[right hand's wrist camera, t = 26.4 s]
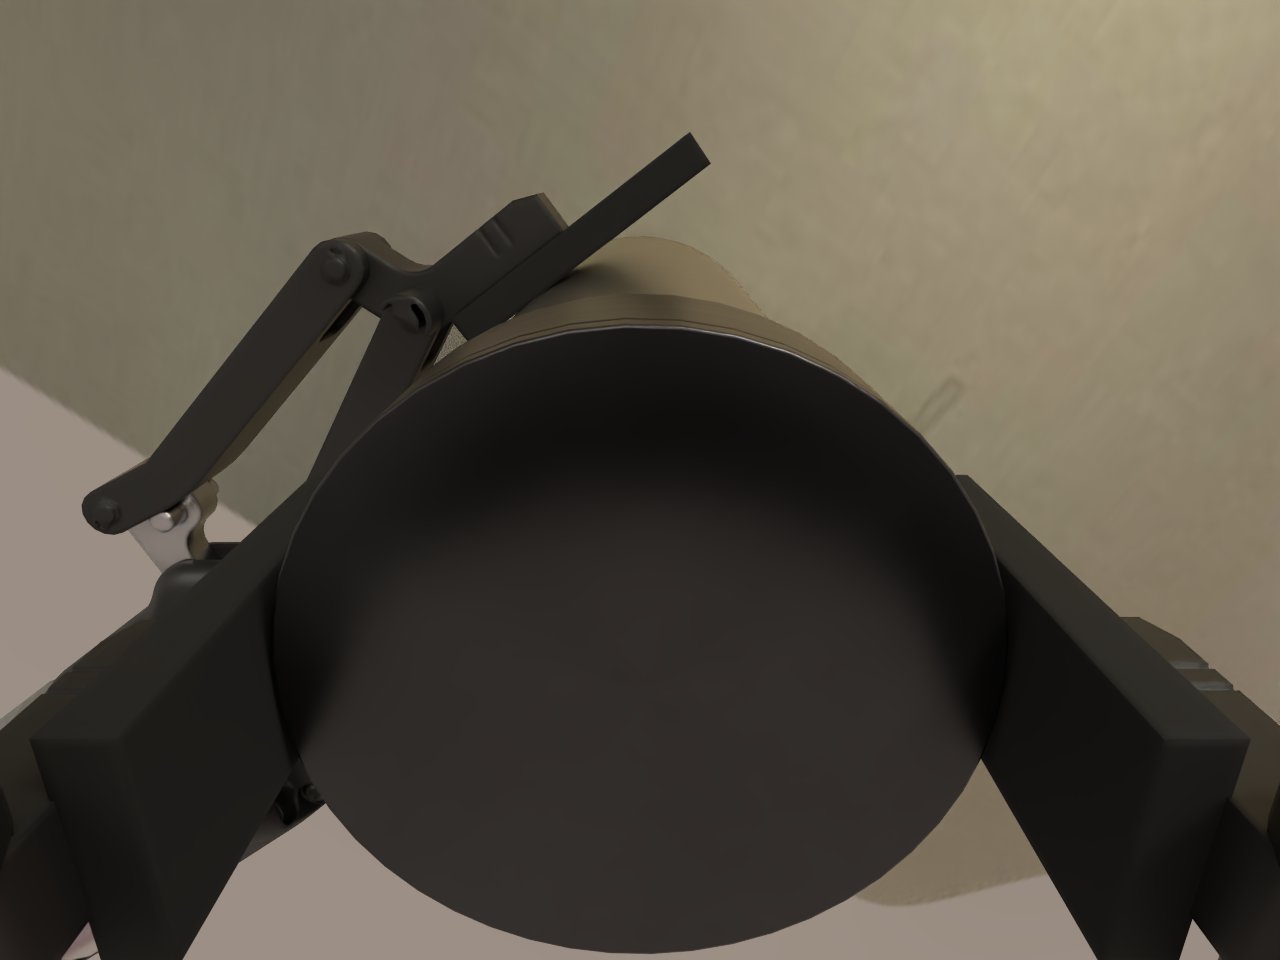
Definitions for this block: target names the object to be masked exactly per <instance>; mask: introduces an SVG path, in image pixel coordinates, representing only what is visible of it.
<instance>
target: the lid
mask: <svg viewBox="0 0 1280 960" xmlns="http://www.w3.org/2000/svg"><path fill="white" fill-rule="evenodd" d="M1007 652H1008V625H1007V613H1006V602H1005V592H1004V588H1003V584H1002V580H1001V576H1000V572H999V568H998V564H997V560H996V556H995V552H994V550H993V547H992V545H991V543H990V540H989V538H988V536H987V533H986V531H985V528H984V526H983V524H982V521H981V519H980V517H979V514H978V512H977V510H976V508H975V507H974V505H973V503H972V502H971V500H970V499H969V497H968V495H967V494H966V492H965V491H964V489H963V487H962V486H961V484H960V483H959V481H958V479H957V478H956V476H955V475H954V473H953V471H952V470H951V469H950V468H949V466H948V465H947V464H946V463H945V462H944V461H943V459H942V458H941V457H940V456H939V455H938V454H937V453H936V451H935V450H934V449H933V448H932V447H931V446H930V444H929V443H928V442H927V441H926V440H925V439H924V437H923V436H922V435H921V434H920V433H919V432H918V431H917V430H916V429H915V428H914V427H913V426H911V425H910V424H909V423H908V422H907V421H906V420H905V419H904V418H903V417H902V416H901V415H900V414H899V413H898V412H897V411H896V410H895V409H894V408H893V407H891V406H890V405H889V404H888V403H887V402H886V401H885V400H884V399H883V398H882V397H881V396H880V395H879V394H878V393H877V392H876V391H874V390H873V389H872V388H871V387H870V386H869V385H868V384H867V383H866V382H865V381H863V380H862V379H861V378H860V377H859V376H858V375H857V374H855V373H854V372H853V371H852V370H851V369H850V368H848V367H847V366H846V365H845V364H844V363H843V362H842V361H840V360H839V359H838V358H837V357H836V356H834V355H832V354H831V353H829V352H828V351H826V350H825V349H823V348H822V347H820V346H818V345H817V344H815V343H814V342H812V341H811V340H809V339H808V338H806V337H805V336H803V335H801V334H800V333H797V332H795V331H793V330H791V329H789V328H787V327H785V326H782V325H780V324H778V323H776V322H774V321H772V320H769V319H767V318H765V317H763V316H761V315H758V314H754V313H751V312H748V311H745V310H741V309H738V308H735V307H732V306H728V305H725V304H722V303H718V302H713V301H707V300H701V299H695V298H689V297H683V296H677V295H659V294H618V295H609V296H599V297H589V298H581V299H577V300H573V301H569V302H565V303H560V304H556V305H552V306H548V307H544V308H540V309H537V310H534V311H532V312H529V313H526V314H524V315H521V316H519V317H516V318H514V319H511V320H509V321H506V322H503V323H501V324H498V325H496V326H494V327H493V328H491V329H489V330H487V331H485V332H484V333H482V334H480V335H478V336H476V337H475V338H473V339H471V340H469V341H468V342H466V343H464V344H462V345H460V346H459V347H457V348H456V349H455V350H454V351H452V352H451V353H450V354H448V355H447V356H446V357H444V358H443V359H442V360H440V361H439V362H438V363H436V364H435V365H434V366H432V367H431V368H430V369H428V370H427V371H426V372H425V373H424V374H423V375H422V376H421V377H419V378H418V379H417V380H416V381H415V382H414V383H413V384H412V385H411V386H410V387H409V388H408V389H407V390H406V391H405V392H404V393H402V394H401V395H400V396H399V397H398V398H397V399H396V400H395V401H394V402H393V403H392V404H391V405H390V406H389V407H388V408H387V409H386V410H385V411H383V412H382V413H381V414H380V415H379V416H378V417H377V418H376V419H375V420H374V421H373V422H372V423H371V424H370V425H369V426H368V427H367V428H366V429H365V430H364V431H363V432H362V433H361V434H360V435H359V436H358V437H357V438H356V439H355V440H354V441H353V442H352V443H351V444H350V445H349V446H348V447H347V448H346V449H345V450H344V452H343V453H342V454H341V455H340V456H339V458H338V459H337V460H336V462H335V463H334V465H333V466H332V467H331V469H330V470H329V471H328V473H327V474H326V476H325V477H324V478H323V480H322V481H321V483H320V484H319V485H318V487H317V488H316V489H315V491H314V492H313V494H312V496H311V498H310V500H309V502H308V504H307V506H306V508H305V510H304V512H303V514H302V516H301V518H300V520H299V522H298V524H297V526H296V527H295V529H294V531H293V534H292V537H291V540H290V543H289V546H288V549H287V552H286V555H285V558H284V561H283V564H282V567H281V570H280V574H279V579H278V585H277V591H276V598H275V604H274V610H273V616H272V661H273V667H274V674H275V680H276V687H277V693H278V700H279V703H280V707H281V710H282V713H283V716H284V720H285V723H286V726H287V729H288V732H289V736H290V739H291V741H292V743H293V745H294V747H295V750H296V752H297V754H298V756H299V758H300V760H301V762H302V764H303V766H304V769H305V771H306V773H307V775H308V777H309V778H310V780H311V781H312V783H313V784H314V786H315V787H316V789H317V790H318V792H319V793H320V795H321V796H322V798H323V800H324V801H325V803H326V804H327V806H328V807H329V809H330V810H331V811H332V812H333V813H334V815H335V816H336V817H337V818H338V819H339V821H340V822H341V823H342V824H343V825H344V826H345V828H346V829H347V830H348V831H349V832H350V833H351V835H352V836H353V837H354V838H355V839H356V840H357V841H358V842H359V843H360V844H361V845H362V846H363V847H364V848H365V849H367V850H368V851H369V852H370V853H371V854H372V855H373V856H374V857H375V858H376V859H377V860H379V861H380V862H381V863H382V864H383V865H384V866H385V867H386V868H388V869H389V870H391V871H392V872H393V873H395V874H396V875H398V876H399V877H400V878H401V879H403V880H404V881H406V882H407V883H408V884H410V885H411V886H413V887H414V888H415V889H417V890H418V891H420V892H422V893H423V894H425V895H427V896H429V897H430V898H432V899H434V900H436V901H437V902H439V903H441V904H443V905H444V906H446V907H448V908H450V909H451V910H453V911H455V912H458V913H460V914H462V915H464V916H467V917H469V918H471V919H473V920H476V921H478V922H480V923H483V924H485V925H487V926H489V927H492V928H495V929H498V930H501V931H505V932H508V933H511V934H514V935H517V936H520V937H523V938H527V939H529V940H534V941H539V942H544V943H548V944H552V945H557V946H562V947H566V948H572V949H580V950H589V951H598V952H606V953H634V954H656V953H670V952H684V951H694V950H700V949H706V948H712V947H718V946H724V945H729V944H734V943H738V942H742V941H745V940H749V939H752V938H756V937H760V936H763V935H767V934H771V933H774V932H776V931H779V930H781V929H784V928H787V927H789V926H792V925H794V924H797V923H800V922H802V921H805V920H808V919H810V918H812V917H814V916H816V915H818V914H820V913H822V912H824V911H826V910H828V909H830V908H832V907H834V906H836V905H838V904H840V903H842V902H844V901H846V900H847V899H849V898H850V897H852V896H853V895H855V894H856V893H858V892H860V891H861V890H863V889H864V888H866V887H867V886H869V885H870V884H872V883H873V882H875V881H876V880H878V879H879V878H881V877H882V876H883V875H884V874H886V873H887V872H888V871H889V870H891V869H892V868H893V867H894V866H895V865H897V864H898V863H899V862H900V861H901V860H903V859H904V858H905V857H906V856H908V855H909V854H910V853H911V852H912V851H913V850H914V849H915V848H916V847H917V846H918V845H919V844H920V843H921V842H922V841H923V840H924V839H925V837H926V836H927V835H928V834H929V833H930V832H931V831H932V830H933V829H934V828H935V827H936V826H937V825H938V824H939V823H940V821H941V820H942V819H943V817H944V816H945V815H946V813H947V812H948V811H949V809H950V808H951V806H952V805H953V804H954V802H955V801H956V800H957V798H958V797H959V796H960V794H961V793H962V792H963V790H964V788H965V786H966V785H967V783H968V781H969V779H970V777H971V776H972V774H973V772H974V770H975V768H976V766H977V765H978V763H979V761H980V759H981V757H982V755H983V753H984V750H985V748H986V745H987V742H988V740H989V737H990V735H991V732H992V729H993V727H994V724H995V722H996V719H997V715H998V710H999V706H1000V702H1001V697H1002V693H1003V688H1004V684H1005V679H1006V666H1007Z"/></svg>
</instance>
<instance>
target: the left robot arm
mask: <svg viewBox="0 0 1280 960" xmlns="http://www.w3.org/2000/svg"><path fill="white" fill-rule="evenodd" d="M710 164H711V163H710V162H709V160H708V159H707V157H706V156H705V154H704V153H703V151H702V150H701V148H700V147H699V145H698V143H697V142H696V140H695V139H694V137H693V136H692V134H691V133H690V132H689V133H688V134H687V135H685V136H684V137H683V138H682V139H680V140H679V141H678V142H676V143H675V144H674V145H673V146H671V147H670V148H669V149H667V150H666V151H665V152H664V153H662V154H661V155H660V156H659V157H657V158H656V159H655V160H653V161H652V162H651V163H650V164H648V165H647V166H646V167H645V168H643V169H642V170H641V171H639V172H638V173H637V174H636V175H634V176H633V177H632V178H631V179H629V180H628V181H627V182H625V183H624V184H623V185H622V186H620V187H619V188H618V189H616V190H615V191H614V192H613V193H611V194H610V195H609V196H608V197H606V198H605V199H604V200H602V201H601V202H600V203H599V204H597V205H596V206H595V207H594V208H592V209H591V210H590V211H588V212H587V213H586V214H585V215H583V216H582V217H581V218H580V219H578V220H577V221H576V222H574V223H573V224H572V225H571V226H568V225H567V224H566V222H565V221H564V220H563V218H562V217H561V216H560V214H559V213H558V211H557V210H556V209H555V207H554V206H553V205H552V203H551V202H550V200H549V199H548V198H547V196H546V195H545V194H544V193H540V194H536V195H532V196H528V197H525V198H521V199H518V200H514V201H512V202H511V203H510V204H508V205H507V206H506V207H505V208H503V209H502V210H501V211H500V212H499V213H497V214H496V215H495V216H494V217H493V218H491V219H490V220H489V221H487V222H486V223H485V224H484V225H482V226H481V227H480V228H479V229H478V230H476V231H475V232H474V233H473V234H471V235H470V236H469V237H468V238H466V239H465V240H464V241H463V242H461V243H460V244H459V245H458V246H456V247H455V248H454V249H453V250H451V251H450V252H449V253H448V254H447V255H445V256H444V257H443V258H442V259H440V260H439V261H438V262H437V263H435V264H434V265H422V264H417V263H415V262H413V261H411V260H409V259H407V258H406V257H404V256H403V255H401V254H400V253H398V252H397V251H395V250H393V249H392V248H391V246H390V245H389V244H388V242H387V241H386V240H385V239H384V238H383V237H381V236H380V235H378V234H376V233H372V232H362V233H357V234H352V235H347V236H343V237H338V238H334V239H331V240H327V241H323V242H321V243H319V244H318V245H317V246H316V247H314V248H313V249H312V251H311V252H310V253H309V255H308V256H307V257H306V258H305V260H304V261H303V262H302V264H301V265H300V266H299V267H298V269H297V270H296V271H295V273H294V274H293V275H292V276H291V278H290V279H289V280H288V282H287V283H286V284H285V285H284V287H283V288H282V289H281V290H280V292H279V293H278V294H277V296H276V297H275V298H274V299H273V301H272V302H271V303H270V305H269V306H268V307H267V308H266V310H265V311H264V312H263V314H262V315H261V316H260V317H259V319H258V320H257V321H256V323H255V324H254V325H253V326H252V328H251V329H250V330H249V331H248V333H247V334H246V335H245V337H244V338H243V339H242V340H241V342H240V343H239V344H238V346H237V347H236V348H235V349H234V351H233V352H232V353H231V355H230V356H229V357H228V358H227V360H226V361H225V362H224V364H223V365H222V366H221V367H220V369H219V370H218V371H217V372H216V374H215V375H214V376H213V378H212V379H211V380H210V381H209V383H208V384H207V385H206V387H205V388H204V389H203V390H202V392H201V393H200V394H199V396H198V397H197V398H196V399H195V401H194V402H193V403H192V405H191V406H190V407H189V408H188V410H187V411H186V412H185V413H184V415H183V416H182V417H181V419H180V420H179V421H178V422H177V424H176V425H175V426H174V428H173V429H172V430H171V431H170V433H169V434H168V435H167V437H166V438H165V439H164V440H163V442H162V443H161V444H160V446H159V447H158V448H157V449H156V451H155V452H154V453H153V454H152V456H151V457H150V458H148V459H146V460H144V461H143V462H141V463H139V464H138V465H136V466H134V467H133V468H131V469H129V470H127V471H126V472H124V473H122V474H121V475H119V476H117V477H116V478H114V479H112V480H111V481H109V482H107V483H105V484H104V485H102V486H100V487H99V488H97V489H95V490H93V491H92V492H90V493H89V494H88V495H87V496H86V497H85V498H84V500H83V503H82V512H83V515H84V517H85V519H86V521H87V522H88V523H89V524H90V525H91V526H92V527H93V528H94V529H95V530H98V531H100V532H102V533H104V534H112V535H115V534H119V533H123V532H125V531H127V530H129V532H130V533H131V534H132V536H133V537H134V538H135V539H136V541H137V542H138V543H139V544H140V546H141V547H142V548H143V549H144V551H145V552H146V553H147V555H148V556H149V557H150V558H151V560H152V561H153V562H154V563H155V565H156V566H157V567H158V568H159V570H160V571H161V572H162V575H161V576H160V577H159V579H158V581H157V583H156V585H155V588H154V592H153V596H152V599H151V602H150V604H149V606H148V607H146V608H145V609H144V610H142V611H141V612H140V613H139V614H137V615H136V616H135V617H133V618H132V619H131V620H129V621H128V622H127V623H126V624H124V625H123V626H122V627H120V628H119V629H118V630H116V631H115V632H114V633H113V634H111V635H110V636H109V637H111V636H113V635H115V634H116V633H118V632H120V631H122V630H124V629H126V628H128V627H130V626H131V625H133V624H135V623H137V622H139V621H141V620H158V619H159V618H160V617H161V616H162V615H163V614H164V613H165V612H166V611H167V610H168V609H169V608H170V607H171V606H173V605H174V604H175V603H176V602H177V601H178V600H179V599H180V598H181V597H182V596H183V595H184V594H185V593H186V592H188V591H189V590H190V589H191V588H192V587H193V586H194V585H195V584H196V583H197V582H198V581H199V580H200V579H201V578H203V577H204V576H205V575H206V574H207V573H208V572H209V571H210V570H211V569H212V568H213V567H214V566H215V565H217V564H218V563H219V562H220V561H221V560H222V559H223V558H224V557H225V556H226V555H227V554H228V553H229V552H230V551H232V550H233V549H234V548H235V547H236V546H237V545H238V544H239V543H240V542H211V543H209V542H208V541H207V539H206V537H205V534H204V523H205V521H206V519H207V518H208V517H209V516H210V515H211V514H212V513H213V512H214V511H215V509H216V507H217V496H216V495H217V494H218V490H219V487H218V485H217V483H216V482H215V481H214V480H212V479H211V478H213V477H214V476H215V475H217V474H218V473H220V472H221V471H222V470H224V469H225V468H226V467H227V466H229V465H230V464H231V463H232V462H234V461H235V460H236V459H237V458H238V457H239V455H240V454H241V453H242V452H243V451H244V450H245V449H246V448H247V447H248V445H249V444H250V443H251V442H252V441H253V439H254V438H255V437H256V436H257V434H258V433H259V432H260V431H261V430H262V428H263V427H264V426H265V425H266V424H267V422H268V421H269V420H270V419H271V417H272V416H273V415H274V414H275V413H276V411H277V410H278V409H279V408H280V406H281V405H282V404H283V403H284V402H285V400H286V399H287V398H288V397H289V396H290V394H291V393H292V392H293V391H294V389H295V388H296V387H297V386H298V385H299V383H300V382H301V381H302V380H303V378H304V377H305V376H306V375H307V374H308V372H309V371H310V370H311V369H312V368H313V366H314V365H315V364H316V363H317V361H318V360H319V359H320V358H321V357H322V355H323V354H324V353H325V352H326V350H327V349H328V348H329V347H330V346H331V344H332V343H333V342H334V341H335V340H336V338H337V337H338V336H339V335H340V333H341V332H342V331H343V330H344V329H345V327H346V326H347V325H348V324H349V322H350V321H351V320H352V319H353V318H354V316H355V315H356V314H357V313H358V312H359V310H360V309H361V308H362V307H363V308H365V309H366V310H368V311H370V312H371V313H373V314H374V315H376V316H378V317H379V318H381V319H380V322H379V324H378V326H377V328H376V330H375V333H374V335H373V337H372V339H371V341H370V343H369V346H368V348H367V350H366V352H365V354H364V357H363V359H362V361H361V363H360V365H359V368H358V370H357V372H356V374H355V376H354V378H353V381H352V383H351V385H350V387H349V389H348V392H347V394H346V396H345V398H344V400H343V402H342V405H341V407H340V409H339V411H338V413H337V416H336V418H335V420H334V422H333V424H332V427H331V429H330V431H329V433H328V435H327V437H326V440H325V442H324V444H323V446H322V448H321V451H320V453H319V455H318V457H317V459H316V461H315V464H314V466H313V468H312V470H311V472H310V475H309V477H308V479H309V478H310V477H311V476H312V475H326V474H327V473H328V471H329V470H330V469H331V467H332V466H333V465H334V463H335V462H336V460H337V459H338V458H339V456H340V455H341V454H342V453H343V452H344V450H345V449H346V448H347V447H348V446H349V445H350V444H351V443H352V442H353V441H354V440H355V439H356V438H357V437H358V436H359V435H360V434H361V433H362V432H363V431H364V430H365V429H366V428H367V427H368V426H369V425H370V424H371V423H372V422H373V421H374V420H375V419H376V418H377V417H378V416H379V415H380V414H381V413H382V412H383V411H385V410H386V409H387V408H388V407H389V406H390V405H391V404H392V403H393V402H394V401H395V400H396V399H397V398H398V397H399V396H400V395H401V394H402V393H404V392H405V391H406V390H407V389H408V388H409V387H410V386H411V385H412V384H413V383H414V382H415V381H416V380H417V379H418V378H419V377H421V376H422V375H423V374H424V373H425V372H426V371H427V370H428V369H430V368H431V367H432V366H433V365H434V363H435V361H436V359H437V357H438V355H439V353H440V351H441V349H442V347H443V345H444V343H445V340H446V338H447V336H448V334H449V332H450V330H451V328H452V326H453V324H454V325H455V326H456V327H457V329H458V330H459V331H460V332H461V334H462V335H463V336H464V337H465V339H466V340H467V341H469V340H471V339H473V338H475V337H476V336H478V335H480V334H482V333H484V332H485V331H487V330H489V329H491V328H493V327H494V326H496V325H498V324H501V323H503V322H505V321H507V320H508V319H509V318H511V317H512V316H513V315H515V314H516V313H517V312H518V311H520V310H521V309H522V308H524V307H525V306H526V305H528V304H529V303H530V302H531V301H532V300H534V299H535V298H537V297H538V296H539V295H541V294H542V293H543V292H544V291H546V290H547V289H548V288H550V287H551V286H552V285H554V284H555V283H556V282H557V281H559V280H560V279H561V278H563V277H564V276H565V275H567V274H568V273H569V272H570V271H572V270H573V269H574V268H576V267H577V266H578V265H580V264H581V263H582V262H583V261H585V260H586V259H587V258H589V257H590V256H591V255H593V254H594V253H595V252H596V251H598V250H599V249H600V248H602V247H603V246H604V245H606V244H607V243H608V242H609V241H611V240H612V239H613V238H615V237H616V236H617V235H619V234H620V233H621V232H622V231H624V230H625V229H626V228H628V227H629V226H630V225H632V224H633V223H634V222H635V221H637V220H638V219H639V218H641V217H642V216H643V215H645V214H646V213H647V212H648V211H650V210H651V209H652V208H654V207H655V206H656V205H658V204H659V203H660V202H661V201H663V200H664V199H665V198H667V197H668V196H669V195H671V194H672V193H673V192H674V191H676V190H677V189H678V188H680V187H681V186H682V185H684V184H685V183H686V182H687V181H689V180H690V179H691V178H693V177H694V176H695V175H697V174H698V173H699V172H700V171H702V170H703V169H704V168H706V167H707V166H708V165H710ZM308 479H307V480H308ZM109 637H107V638H109ZM107 638H106V639H107ZM94 648H95V647H94ZM90 651H91V650H90ZM90 651H89V652H90ZM89 652H88V653H89ZM88 653H87V654H88ZM87 654H85V655H87ZM85 655H84V656H85ZM84 656H83V657H84ZM83 657H81V658H80V659H79V660H77V661H76V662H75V663H74V664H72V665H71V666H70V667H68V668H67V669H66V670H64V671H63V672H62V673H61V674H60V675H59V676H58V677H57V678H56V679H55V680H53V681H51V682H49V683H48V684H46V685H45V686H44V687H42V688H41V689H40V690H38V691H37V692H36V693H35V694H33V695H32V696H31V697H29V698H28V699H27V700H25V701H24V702H23V703H21V704H20V705H19V706H17V707H16V708H15V709H13V710H12V711H11V712H10V713H8V714H7V715H6V716H4V717H3V718H2V719H0V730H1V729H2V728H3V727H4V726H6V725H7V724H8V723H9V722H10V721H11V720H12V719H14V718H15V717H16V716H17V715H18V714H19V713H20V712H21V711H23V710H24V709H25V708H26V707H27V706H28V705H29V704H31V703H32V702H33V701H34V700H35V699H36V698H37V697H39V696H40V695H41V694H47V693H48V688H49V687H50V686H51V685H52V684H53V683H55V682H56V681H57V680H58V679H59V678H60V677H61V676H63V675H64V674H65V673H66V672H72V669H73V668H72V667H73V666H74V665H75V664H76V663H77V662H79V661H80V660H81V659H82V658H83ZM324 804H325V801H324V800H323V798H322V796H321V795H320V793H319V792H318V790H317V789H316V787H315V786H314V784H313V783H312V781H311V780H310V778H309V777H308V775H307V773H306V771H305V769H304V766H303V764H302V762H301V760H300V758H299V759H298V761H297V763H296V764H295V766H294V768H293V770H292V771H291V773H290V775H289V776H288V778H287V780H286V782H285V783H284V785H283V787H282V789H281V790H280V792H279V794H278V795H277V797H276V799H275V801H274V802H273V804H272V806H271V808H270V809H269V811H268V813H267V814H266V816H265V818H264V820H263V821H262V823H261V825H260V827H259V828H258V830H257V832H256V833H255V835H254V837H253V839H252V840H251V842H250V844H249V846H248V847H247V849H246V851H245V852H244V854H243V856H242V858H241V859H240V861H239V862H241V861H242V860H244V859H245V858H247V857H248V856H250V855H251V854H253V853H254V852H256V851H258V850H259V849H261V848H262V847H264V846H265V845H267V844H269V843H270V842H272V841H273V840H275V839H276V838H278V837H279V836H281V835H283V834H284V833H286V832H287V831H289V830H290V829H292V828H293V827H295V826H297V825H298V824H299V823H301V822H302V821H304V820H305V819H306V818H308V817H309V816H310V815H311V814H313V813H314V812H315V811H316V810H318V809H319V808H320V807H322V806H323V805H324ZM97 953H98V949H97V946H96V943H95V940H94V937H93V934H92V931H91V928H90V925H89V922H88V923H87V925H86V926H85V927H84V929H83V930H82V931H81V933H80V934H79V935H78V937H77V938H76V940H75V941H74V942H73V944H72V945H71V946H70V948H69V949H68V950H67V952H66V953H65V955H64V956H63V957H62V960H87V959H89V958H90V957H92V956H93V955H95V954H97Z"/></svg>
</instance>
